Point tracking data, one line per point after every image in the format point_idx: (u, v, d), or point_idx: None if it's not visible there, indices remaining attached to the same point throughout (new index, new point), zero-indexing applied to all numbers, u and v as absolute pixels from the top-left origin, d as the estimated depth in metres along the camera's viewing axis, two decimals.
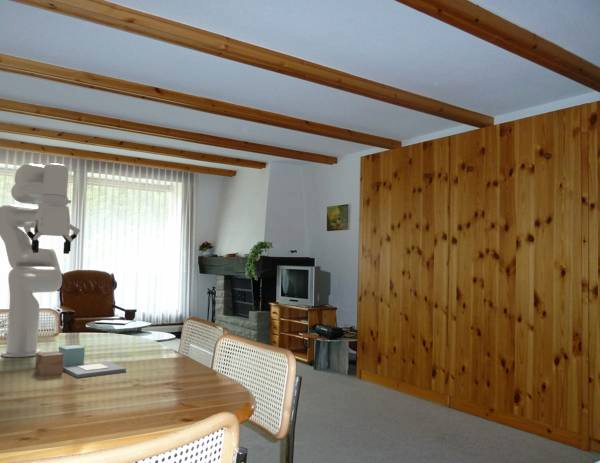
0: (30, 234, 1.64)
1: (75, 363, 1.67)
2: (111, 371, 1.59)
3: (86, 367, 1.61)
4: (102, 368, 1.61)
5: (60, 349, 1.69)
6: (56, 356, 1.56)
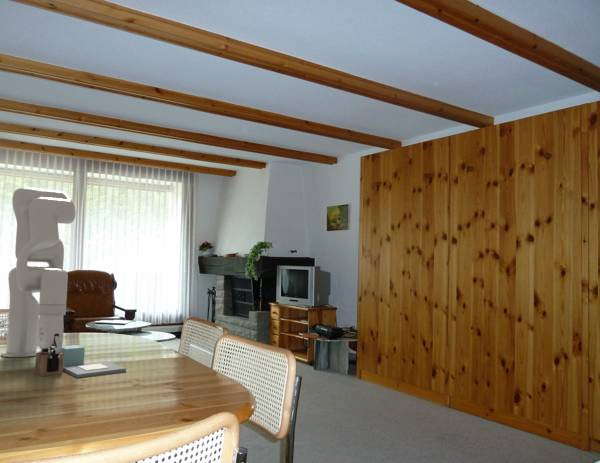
0: None
1: (75, 363, 1.67)
2: (111, 371, 1.59)
3: (86, 367, 1.61)
4: (102, 368, 1.61)
5: None
6: None
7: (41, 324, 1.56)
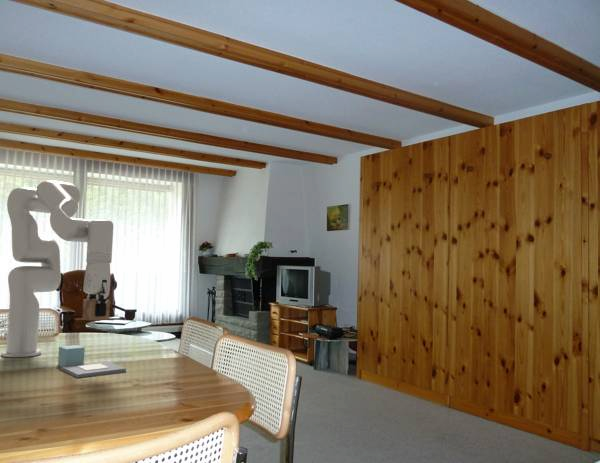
0: None
1: (75, 363, 1.67)
2: (111, 371, 1.59)
3: (86, 367, 1.61)
4: (102, 368, 1.61)
5: (60, 349, 1.69)
6: None
7: (89, 271, 1.62)
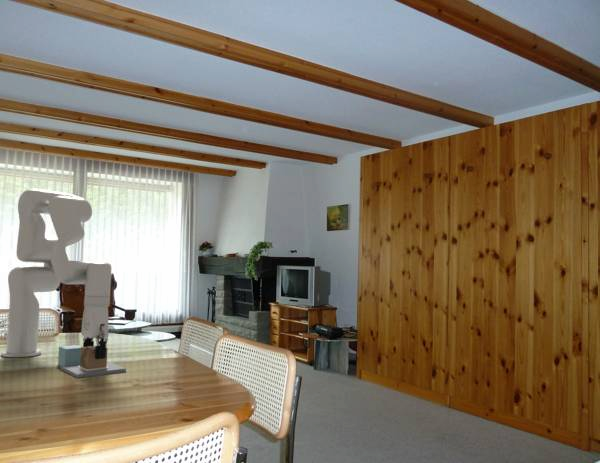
0: None
1: (75, 363, 1.67)
2: (111, 371, 1.59)
3: None
4: (102, 368, 1.61)
5: (60, 349, 1.69)
6: None
7: (87, 315, 1.62)
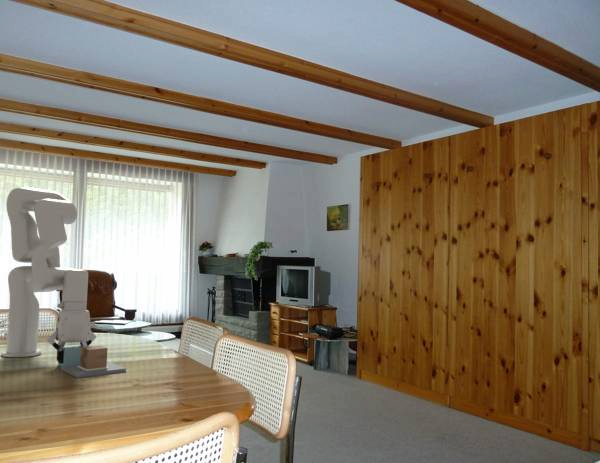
0: None
1: (75, 363, 1.67)
2: (111, 371, 1.59)
3: None
4: (102, 368, 1.61)
5: None
6: (101, 350, 1.61)
7: (76, 320, 1.68)
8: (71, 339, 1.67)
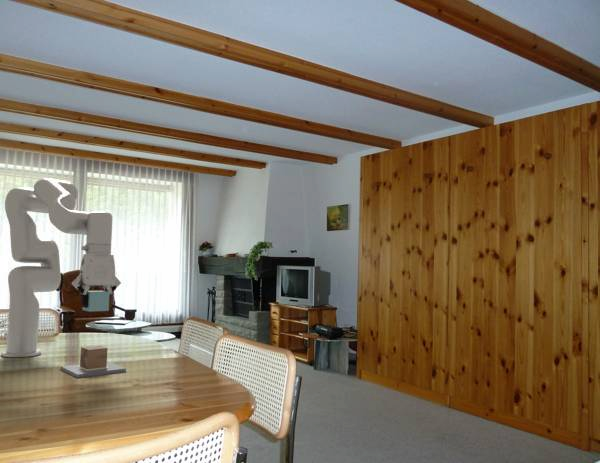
0: None
1: (100, 307, 1.62)
2: (111, 371, 1.59)
3: None
4: (102, 368, 1.61)
5: None
6: (101, 350, 1.61)
7: (100, 263, 1.63)
8: (96, 282, 1.61)
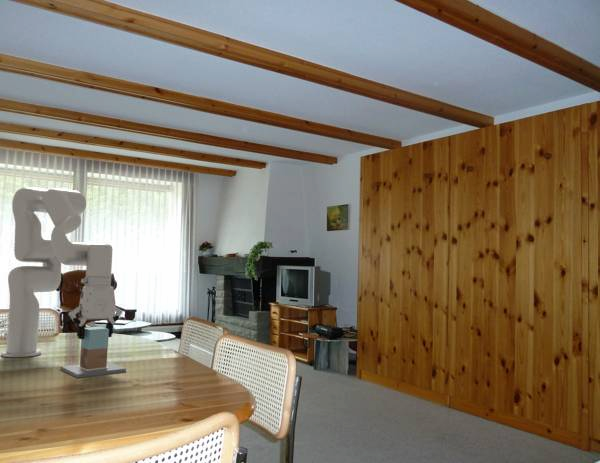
0: None
1: (99, 345, 1.61)
2: (111, 371, 1.59)
3: None
4: (102, 368, 1.61)
5: None
6: (101, 350, 1.61)
7: (100, 296, 1.62)
8: (95, 316, 1.60)
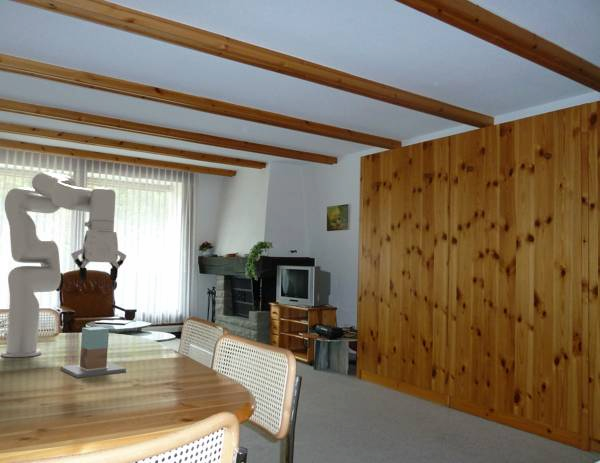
0: None
1: (99, 345, 1.61)
2: (111, 371, 1.59)
3: None
4: (102, 368, 1.61)
5: (83, 330, 1.62)
6: (101, 350, 1.61)
7: (103, 240, 1.63)
8: (99, 259, 1.61)
